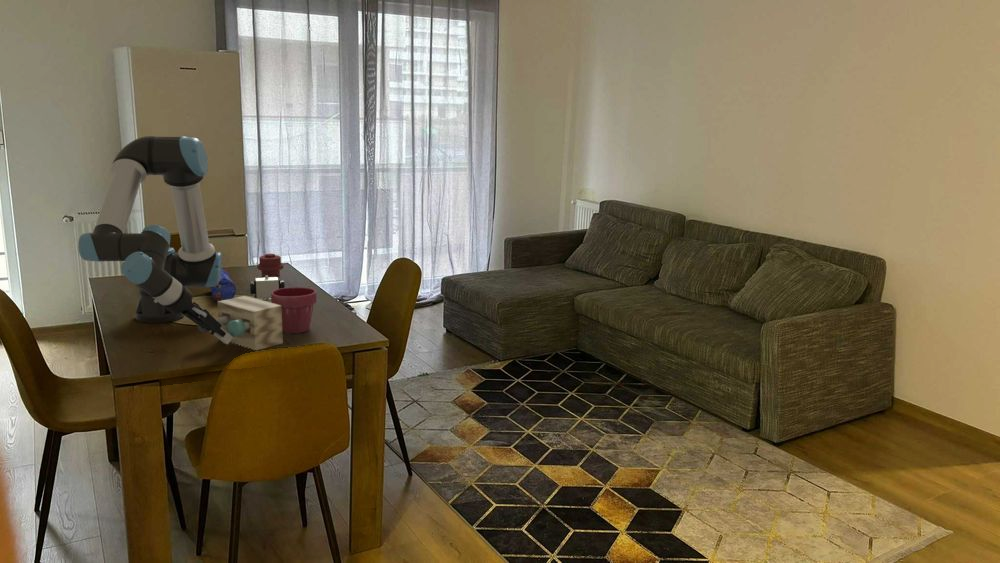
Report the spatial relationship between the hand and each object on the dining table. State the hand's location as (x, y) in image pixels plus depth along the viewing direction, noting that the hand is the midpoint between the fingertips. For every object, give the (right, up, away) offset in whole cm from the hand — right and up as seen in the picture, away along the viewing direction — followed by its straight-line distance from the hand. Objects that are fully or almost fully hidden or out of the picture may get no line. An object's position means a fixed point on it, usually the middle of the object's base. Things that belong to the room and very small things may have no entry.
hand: (228, 340), depth 229 cm
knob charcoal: (-6, +3, +9) cm, 11 cm away
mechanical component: (-13, +16, +86) cm, 88 cm away
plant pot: (+13, +1, +26) cm, 29 cm away
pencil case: (-25, +11, +66) cm, 71 cm away
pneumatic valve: (-4, +7, +51) cm, 51 cm away
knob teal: (+4, +2, +6) cm, 7 cm away
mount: (+2, -1, +13) cm, 13 cm away
